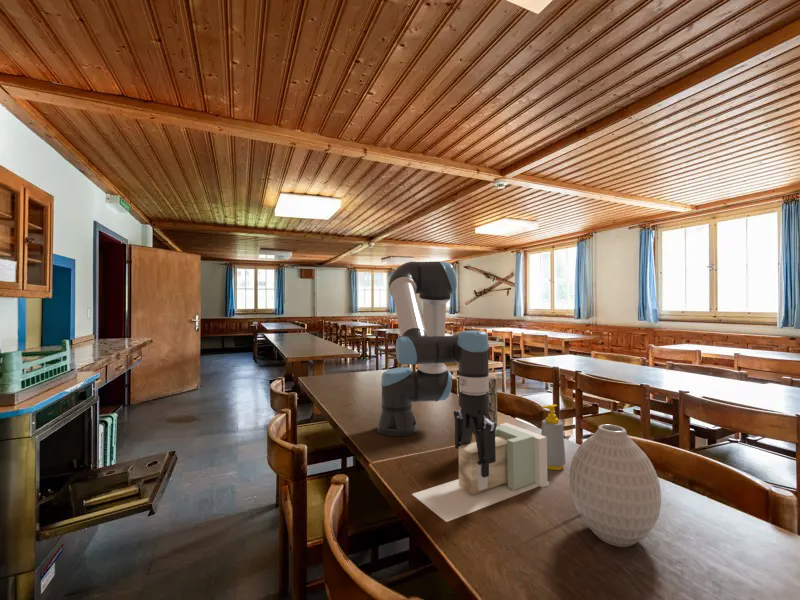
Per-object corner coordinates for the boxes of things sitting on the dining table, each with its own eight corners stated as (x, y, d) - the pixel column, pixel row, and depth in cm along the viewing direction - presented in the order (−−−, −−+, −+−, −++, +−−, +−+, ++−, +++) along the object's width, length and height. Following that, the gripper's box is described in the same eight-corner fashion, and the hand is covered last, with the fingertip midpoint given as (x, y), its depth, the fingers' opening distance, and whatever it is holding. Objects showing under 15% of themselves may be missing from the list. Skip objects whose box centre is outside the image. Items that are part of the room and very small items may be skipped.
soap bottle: (535, 463, 111) (534, 403, 112) (553, 459, 114) (552, 401, 114) (551, 472, 105) (550, 409, 105) (571, 468, 107) (570, 406, 107)
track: (411, 497, 92) (411, 445, 92) (508, 465, 110) (507, 422, 110) (446, 525, 80) (445, 466, 80) (548, 485, 98) (548, 436, 98)
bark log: (498, 458, 115) (497, 378, 115) (476, 457, 116) (474, 377, 116) (497, 450, 121) (496, 373, 122) (476, 448, 123) (475, 373, 123)
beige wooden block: (458, 485, 94) (458, 446, 94) (501, 471, 102) (500, 435, 102) (472, 494, 90) (471, 453, 90) (515, 479, 98) (514, 441, 98)
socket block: (482, 473, 102) (482, 429, 103) (503, 466, 107) (503, 424, 107) (513, 490, 93) (513, 442, 93) (535, 482, 97) (534, 436, 97)
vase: (596, 506, 87) (595, 411, 88) (677, 543, 74) (675, 431, 74) (554, 529, 78) (552, 424, 79) (636, 576, 65) (634, 448, 65)
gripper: (440, 386, 100) (441, 473, 100) (488, 401, 84) (489, 504, 84) (461, 383, 104) (462, 467, 103) (511, 397, 88) (512, 495, 88)
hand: (474, 483), depth 94 cm, fingers open, 5 cm apart
